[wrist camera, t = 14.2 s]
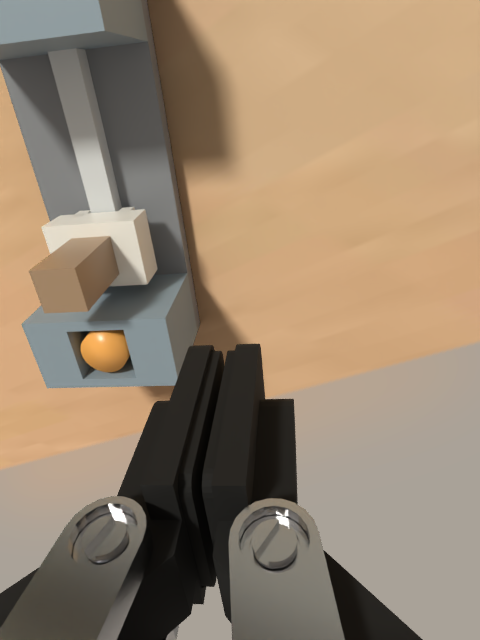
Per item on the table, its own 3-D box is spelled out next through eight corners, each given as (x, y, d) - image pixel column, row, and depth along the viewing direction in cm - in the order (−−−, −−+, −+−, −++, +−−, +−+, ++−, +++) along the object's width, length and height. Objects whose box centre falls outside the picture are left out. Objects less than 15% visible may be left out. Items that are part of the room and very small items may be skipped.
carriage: (148, 205, 34) (102, 250, 25) (160, 264, 36) (121, 323, 27) (65, 211, 35) (-8, 257, 26) (82, 268, 37) (21, 327, 28)
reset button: (133, 313, 34) (120, 332, 31) (142, 350, 36) (131, 371, 33) (90, 314, 34) (74, 334, 32) (101, 351, 36) (87, 372, 34)
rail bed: (135, -69, 27) (70, -132, 19) (200, 323, 41) (179, 385, 33) (-31, -43, 29) (-157, -89, 20) (87, 328, 43) (40, 388, 35)
